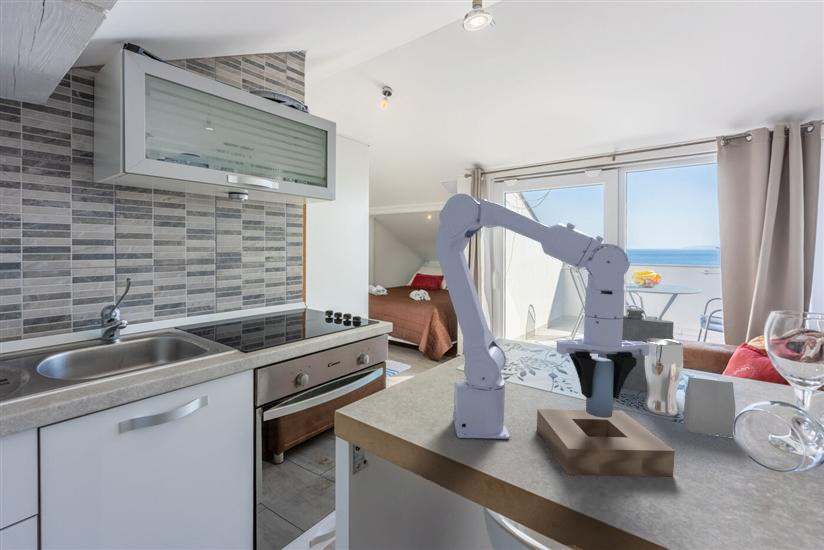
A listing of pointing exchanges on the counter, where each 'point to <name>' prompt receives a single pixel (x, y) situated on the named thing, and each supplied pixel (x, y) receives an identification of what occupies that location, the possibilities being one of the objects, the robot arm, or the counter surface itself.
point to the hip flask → (640, 332)
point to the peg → (601, 389)
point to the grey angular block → (709, 407)
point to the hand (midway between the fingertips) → (599, 395)
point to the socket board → (603, 444)
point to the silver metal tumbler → (663, 375)
